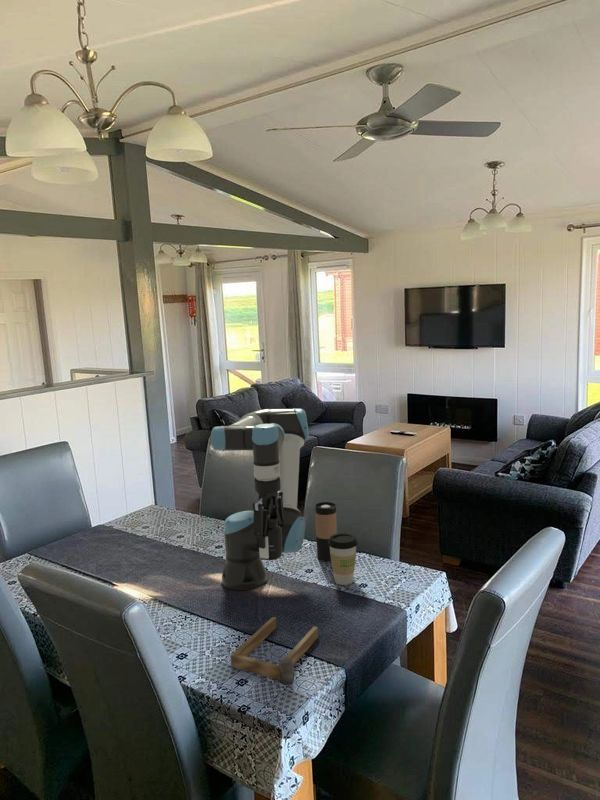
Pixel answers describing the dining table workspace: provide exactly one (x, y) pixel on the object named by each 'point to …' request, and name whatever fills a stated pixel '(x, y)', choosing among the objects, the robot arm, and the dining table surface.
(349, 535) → the coffee cup
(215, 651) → the dining table surface
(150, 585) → the dining table surface
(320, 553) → the travel mug
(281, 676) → the bay
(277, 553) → the supplement bottle
